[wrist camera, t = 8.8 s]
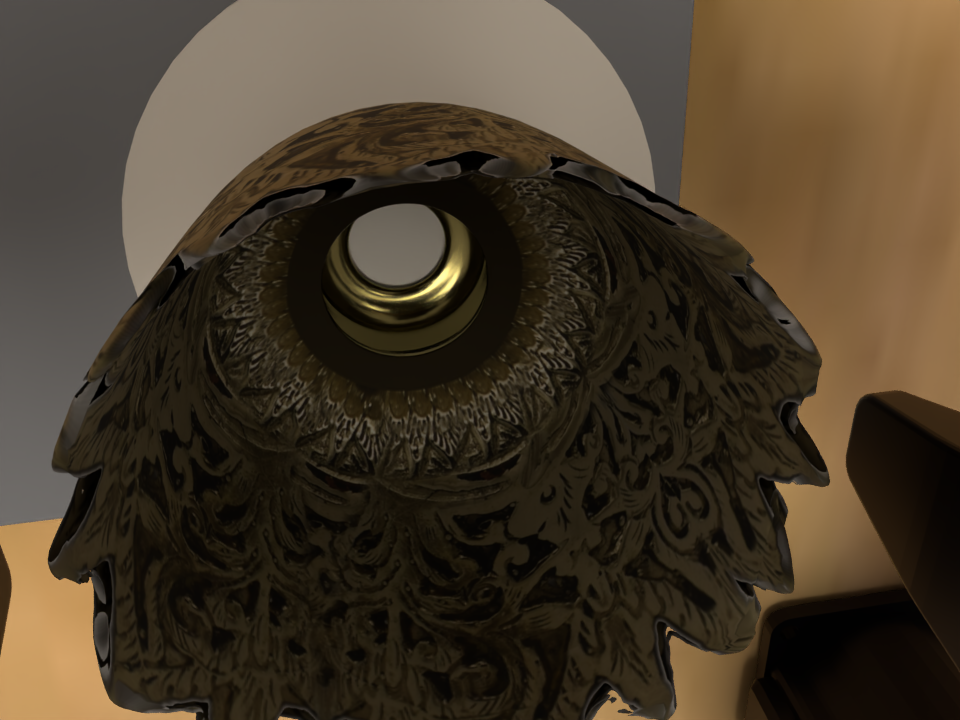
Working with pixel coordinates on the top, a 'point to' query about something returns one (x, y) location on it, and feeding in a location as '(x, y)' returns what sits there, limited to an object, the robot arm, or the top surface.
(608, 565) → the cup
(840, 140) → the top surface
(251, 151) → the board
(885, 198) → the top surface
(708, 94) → the top surface
